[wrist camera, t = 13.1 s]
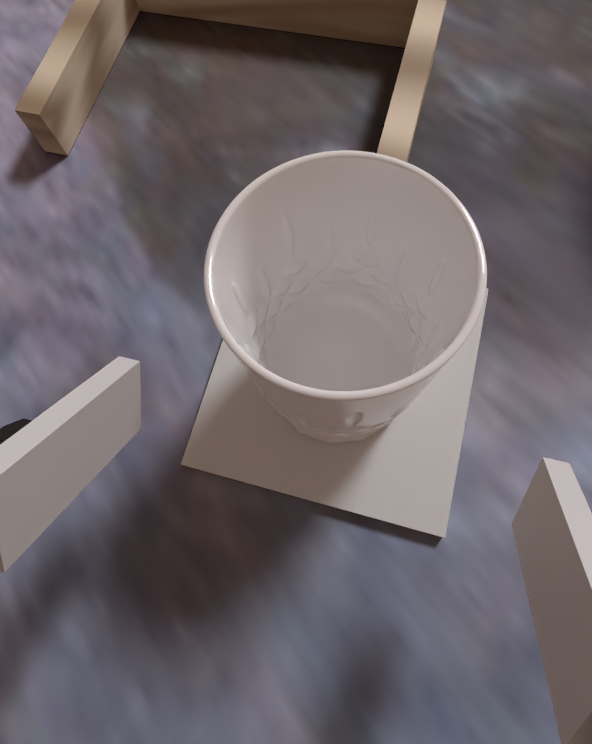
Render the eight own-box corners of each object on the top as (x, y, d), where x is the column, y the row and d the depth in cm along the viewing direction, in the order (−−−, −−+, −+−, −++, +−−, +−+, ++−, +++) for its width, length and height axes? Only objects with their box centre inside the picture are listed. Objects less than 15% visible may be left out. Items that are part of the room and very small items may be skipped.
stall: (394, 217, 26) (402, 178, 23) (45, 151, 29) (14, 110, 26) (439, 33, 30) (451, -19, 27) (127, -8, 33) (108, -59, 30)
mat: (183, 465, 23) (180, 464, 22) (257, 246, 26) (256, 241, 26) (442, 537, 21) (445, 537, 21) (485, 293, 24) (488, 289, 24)
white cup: (366, 491, 21) (394, 459, 12) (222, 397, 23) (147, 304, 14) (452, 348, 23) (537, 221, 14) (313, 271, 25) (302, 111, 15)
